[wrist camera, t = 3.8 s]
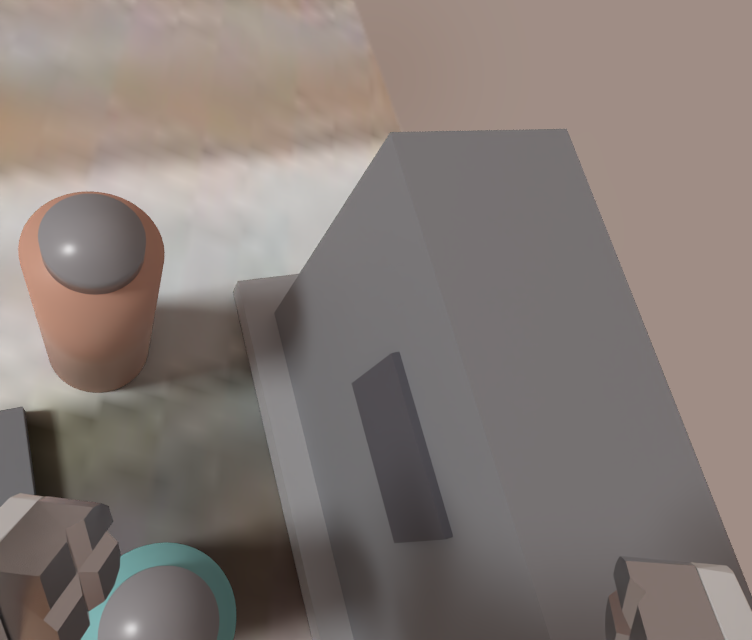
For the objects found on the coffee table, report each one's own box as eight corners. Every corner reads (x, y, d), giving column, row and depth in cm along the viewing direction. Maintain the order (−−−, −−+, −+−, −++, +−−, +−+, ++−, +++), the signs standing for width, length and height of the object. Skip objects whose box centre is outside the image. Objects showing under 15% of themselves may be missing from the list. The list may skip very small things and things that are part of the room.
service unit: (233, 291, 34) (328, 76, 19) (395, 271, 39) (579, 81, 24) (334, 735, 29) (579, 925, 14) (510, 655, 33) (846, 732, 18)
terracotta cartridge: (41, 310, 31) (5, 179, 20) (140, 298, 33) (153, 173, 22) (55, 401, 30) (24, 311, 19) (155, 382, 31) (178, 292, 21)
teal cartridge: (79, 567, 28) (59, 569, 17) (184, 537, 30) (224, 522, 19) (95, 677, 27) (84, 751, 16) (204, 639, 28) (257, 683, 18)
